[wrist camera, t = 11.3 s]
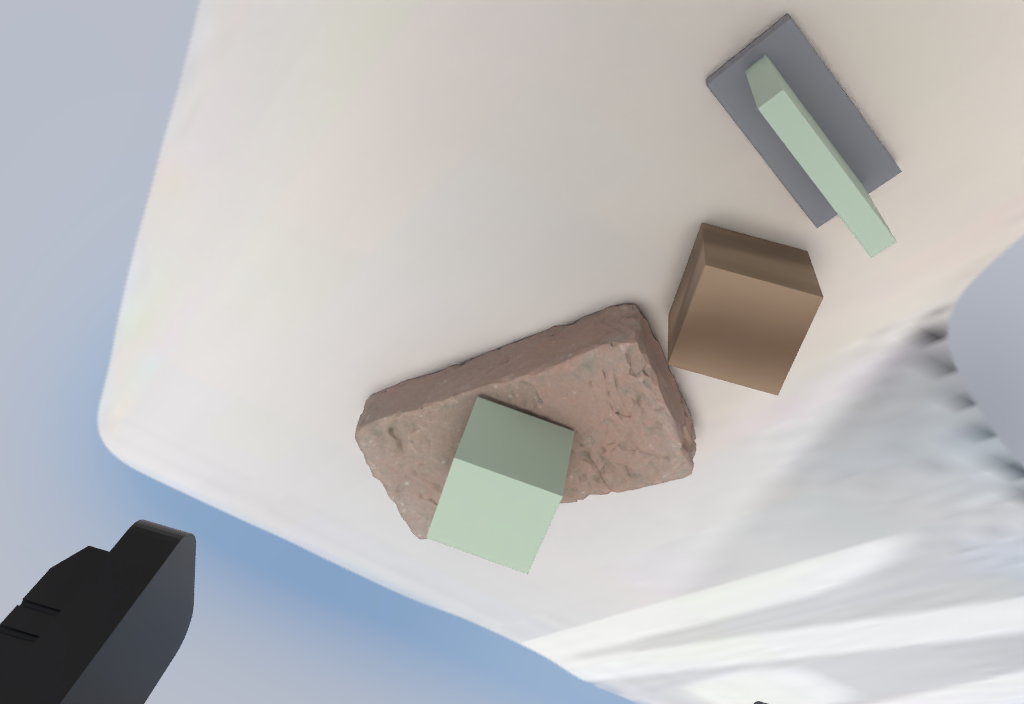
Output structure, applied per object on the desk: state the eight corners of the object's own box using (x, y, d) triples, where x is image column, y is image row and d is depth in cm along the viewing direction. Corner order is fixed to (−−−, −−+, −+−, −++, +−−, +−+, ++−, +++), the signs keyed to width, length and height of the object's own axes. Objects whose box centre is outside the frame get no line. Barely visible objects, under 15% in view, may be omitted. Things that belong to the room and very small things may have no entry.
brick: (434, 501, 51) (414, 556, 47) (363, 389, 48) (335, 438, 44) (700, 422, 45) (703, 476, 41) (640, 289, 42) (637, 334, 38)
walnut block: (702, 221, 39) (705, 264, 35) (807, 250, 39) (823, 297, 35) (668, 314, 42) (667, 364, 38) (767, 341, 42) (777, 395, 38)
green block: (477, 396, 41) (454, 457, 37) (574, 431, 41) (562, 496, 37) (450, 472, 44) (426, 537, 39) (542, 505, 44) (527, 574, 40)
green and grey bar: (787, 13, 35) (814, 47, 28) (895, 163, 37) (943, 227, 30) (705, 79, 36) (712, 125, 30) (813, 218, 38) (841, 290, 32)
